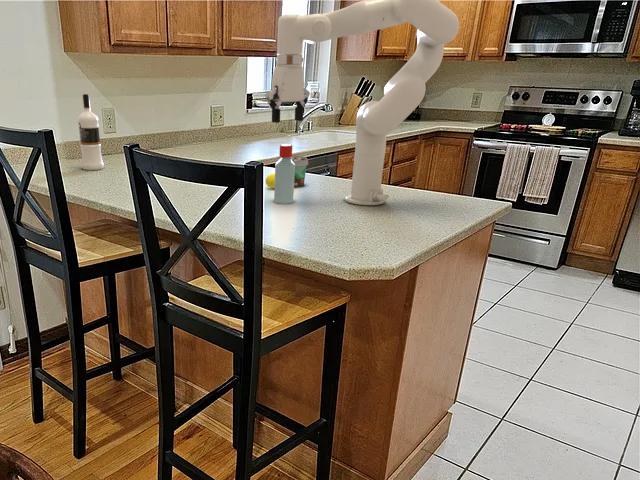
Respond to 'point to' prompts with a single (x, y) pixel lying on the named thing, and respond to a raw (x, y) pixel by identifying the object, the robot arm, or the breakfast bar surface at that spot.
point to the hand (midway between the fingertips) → (287, 121)
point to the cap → (285, 151)
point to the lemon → (270, 181)
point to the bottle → (284, 181)
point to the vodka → (89, 138)
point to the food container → (300, 170)
